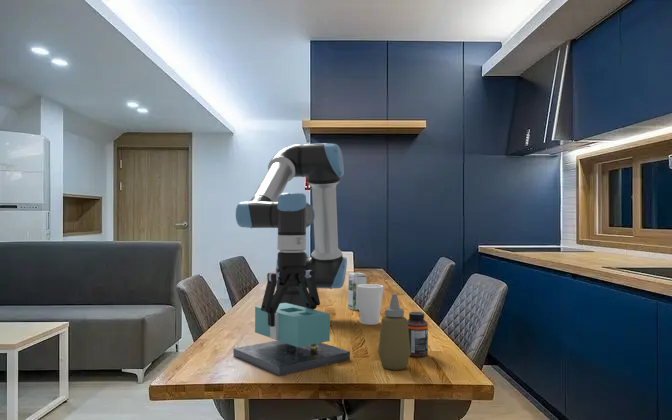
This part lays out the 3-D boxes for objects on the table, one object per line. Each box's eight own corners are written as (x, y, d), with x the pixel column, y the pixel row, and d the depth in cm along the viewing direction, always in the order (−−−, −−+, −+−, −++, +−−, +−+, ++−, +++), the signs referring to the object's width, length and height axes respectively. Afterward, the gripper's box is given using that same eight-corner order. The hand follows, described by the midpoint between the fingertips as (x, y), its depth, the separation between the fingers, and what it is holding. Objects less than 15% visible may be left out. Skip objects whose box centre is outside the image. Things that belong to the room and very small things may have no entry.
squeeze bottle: (388, 373, 119) (388, 297, 119) (372, 364, 126) (372, 292, 127) (417, 369, 122) (417, 295, 122) (399, 361, 129) (400, 291, 130)
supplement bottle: (404, 351, 139) (404, 310, 139) (426, 351, 138) (426, 310, 139) (406, 357, 133) (406, 314, 133) (429, 357, 132) (429, 315, 133)
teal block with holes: (254, 332, 137) (255, 306, 137) (285, 327, 143) (285, 302, 143) (297, 347, 121) (298, 318, 122) (329, 340, 128) (329, 313, 128)
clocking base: (233, 355, 133) (233, 325, 134) (300, 343, 148) (300, 315, 148) (279, 376, 117) (279, 341, 117) (350, 359, 131) (350, 328, 131)
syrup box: (347, 308, 205) (347, 272, 206) (360, 307, 208) (360, 272, 208) (353, 310, 200) (353, 274, 201) (366, 309, 203) (366, 273, 203)
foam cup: (381, 326, 171) (381, 288, 172) (354, 324, 173) (354, 287, 173) (384, 320, 181) (384, 284, 181) (358, 319, 182) (359, 283, 183)
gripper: (262, 253, 122) (262, 345, 122) (333, 250, 137) (333, 332, 137) (247, 252, 128) (246, 339, 128) (316, 249, 143) (316, 327, 142)
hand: (291, 335), depth 132 cm, fingers closed on teal block with holes, 10 cm apart
